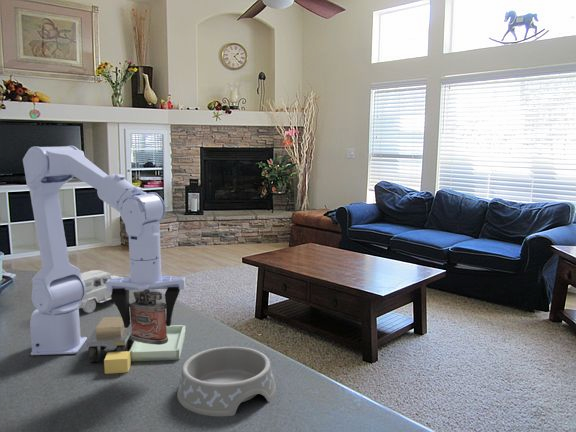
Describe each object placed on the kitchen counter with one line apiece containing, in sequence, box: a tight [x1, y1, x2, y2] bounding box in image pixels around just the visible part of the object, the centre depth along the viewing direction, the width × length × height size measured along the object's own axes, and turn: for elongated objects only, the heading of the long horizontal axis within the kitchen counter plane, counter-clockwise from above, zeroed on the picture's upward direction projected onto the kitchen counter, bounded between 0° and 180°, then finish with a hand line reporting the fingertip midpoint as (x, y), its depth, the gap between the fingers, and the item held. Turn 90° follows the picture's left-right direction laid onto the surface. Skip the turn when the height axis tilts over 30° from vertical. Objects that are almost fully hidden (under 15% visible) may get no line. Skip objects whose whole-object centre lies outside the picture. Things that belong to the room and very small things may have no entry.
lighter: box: [129, 289, 168, 345], centre depth 97 cm, size 8×3×10 cm, turn 67°
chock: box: [103, 350, 132, 375], centre depth 100 cm, size 4×4×3 cm
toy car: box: [79, 269, 131, 314], centre depth 138 cm, size 10×20×10 cm, turn 152°
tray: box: [129, 324, 187, 362], centre depth 111 cm, size 10×14×2 cm
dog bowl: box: [176, 346, 277, 417], centre depth 92 cm, size 17×18×5 cm
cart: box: [86, 316, 134, 363], centre depth 107 cm, size 8×11×7 cm
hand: (148, 325), depth 97 cm, fingers closed on lighter, 7 cm apart
